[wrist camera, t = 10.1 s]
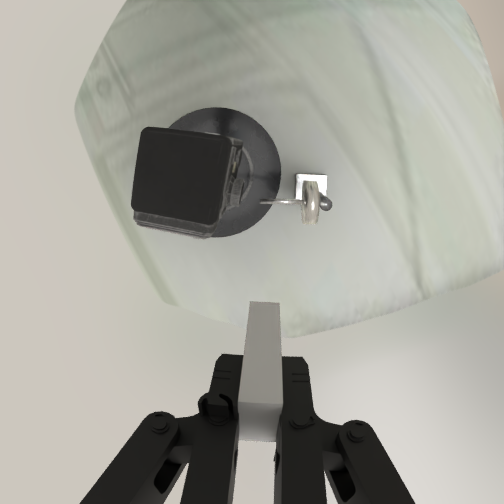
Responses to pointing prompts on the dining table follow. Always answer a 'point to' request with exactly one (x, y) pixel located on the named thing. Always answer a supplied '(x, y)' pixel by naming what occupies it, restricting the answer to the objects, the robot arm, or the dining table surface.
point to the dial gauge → (307, 197)
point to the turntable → (241, 164)
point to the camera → (185, 180)
